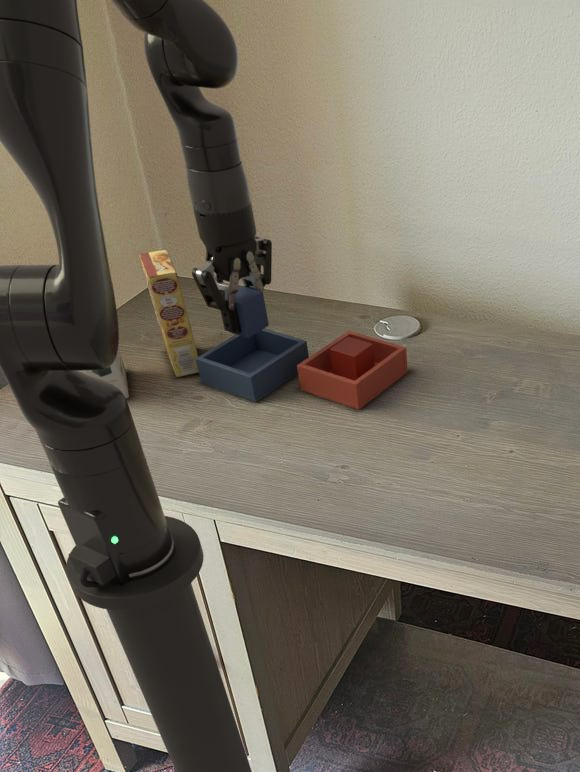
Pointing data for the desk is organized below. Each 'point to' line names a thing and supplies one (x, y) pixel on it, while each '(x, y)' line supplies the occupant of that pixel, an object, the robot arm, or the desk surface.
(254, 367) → the blue bin
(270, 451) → the desk surface
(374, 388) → the red bin
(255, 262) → the robot arm
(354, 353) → the red block
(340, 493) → the desk surface
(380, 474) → the desk surface
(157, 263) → the candy box
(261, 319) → the blue block
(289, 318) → the desk surface
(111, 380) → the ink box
